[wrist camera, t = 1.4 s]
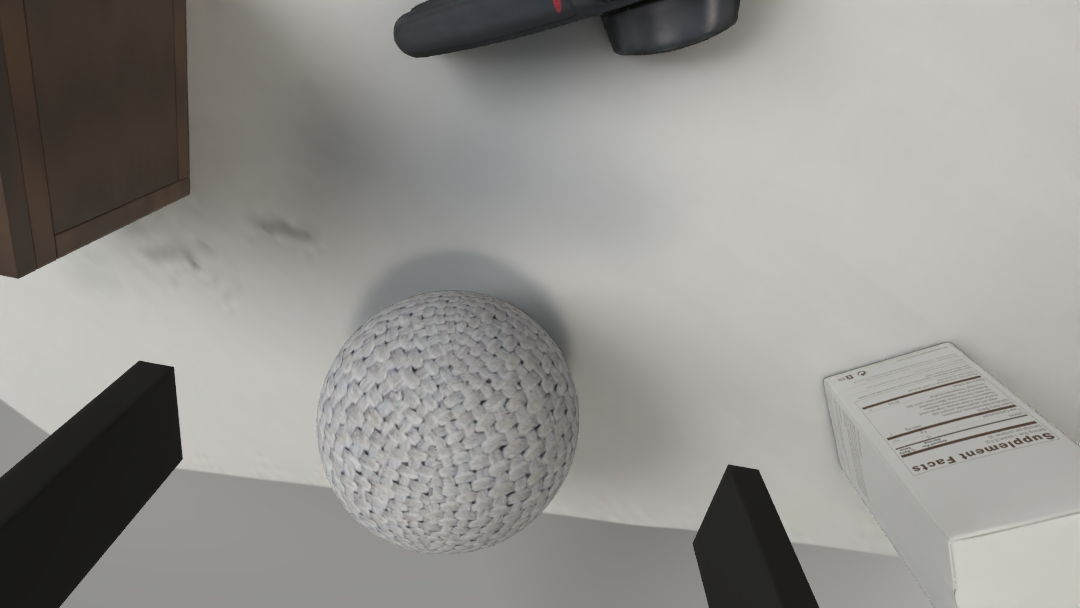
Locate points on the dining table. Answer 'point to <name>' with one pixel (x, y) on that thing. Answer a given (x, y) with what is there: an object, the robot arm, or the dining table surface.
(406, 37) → the can opener
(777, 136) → the dining table surface
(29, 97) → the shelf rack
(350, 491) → the decorative ball
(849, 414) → the white product box
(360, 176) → the dining table surface
